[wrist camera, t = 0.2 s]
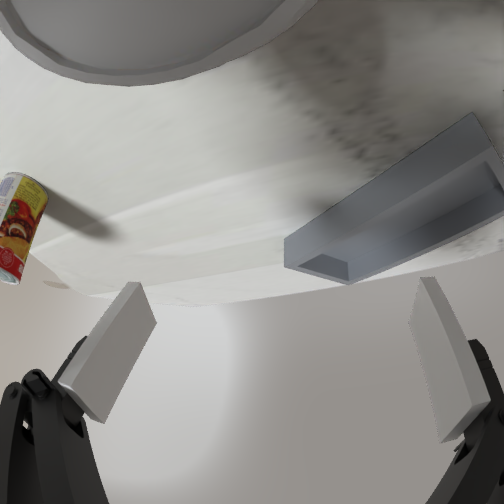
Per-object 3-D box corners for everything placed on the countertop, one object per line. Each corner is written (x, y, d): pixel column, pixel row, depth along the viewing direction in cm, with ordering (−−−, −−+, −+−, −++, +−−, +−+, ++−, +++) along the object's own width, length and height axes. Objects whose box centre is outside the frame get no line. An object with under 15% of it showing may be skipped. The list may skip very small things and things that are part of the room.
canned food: (28, 208, 34) (2, 283, 29) (-5, 179, 27) (-39, 259, 22) (58, 201, 32) (30, 286, 27) (22, 166, 25) (-18, 258, 20)
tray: (346, 260, 44) (348, 285, 42) (284, 239, 39) (283, 267, 37) (508, 175, 22) (522, 205, 20) (472, 112, 17) (492, 145, 15)
